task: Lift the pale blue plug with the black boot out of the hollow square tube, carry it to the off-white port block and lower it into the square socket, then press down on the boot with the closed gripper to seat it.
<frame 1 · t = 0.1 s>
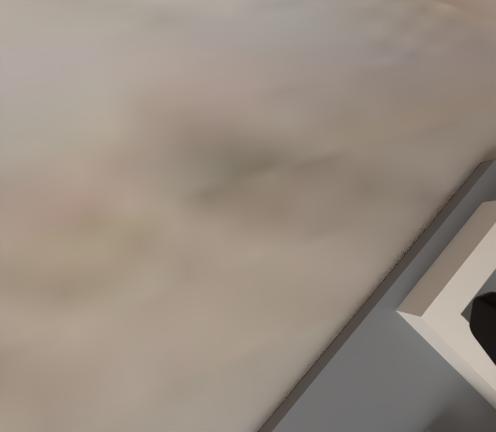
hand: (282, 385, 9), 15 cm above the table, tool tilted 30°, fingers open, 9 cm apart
panel board: (451, 385, 26), on the table
port block: (488, 304, 25), resting on panel board
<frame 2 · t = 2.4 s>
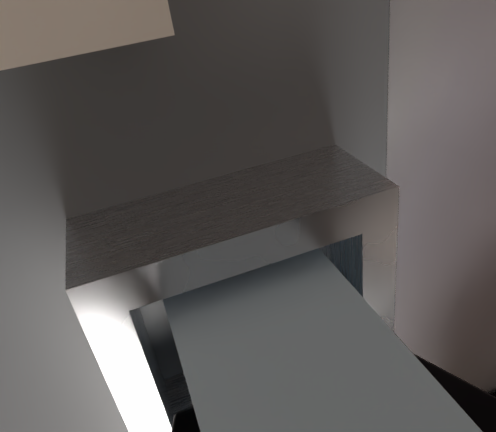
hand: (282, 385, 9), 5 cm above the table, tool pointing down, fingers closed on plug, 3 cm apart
panel board: (46, 58, 9), on the table
hollow square tube: (247, 318, 11), on the panel board, point 2 cm above the table
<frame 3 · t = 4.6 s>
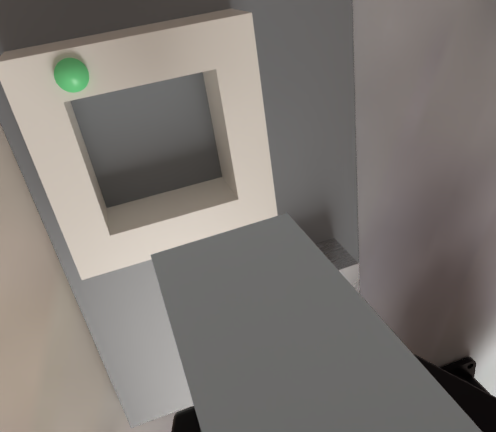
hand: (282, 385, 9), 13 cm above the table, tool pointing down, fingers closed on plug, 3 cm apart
panel board: (212, 208, 22), on the table
port block: (151, 136, 18), resting on panel board
hollow square tube: (293, 317, 23), on the panel board, point 2 cm above the table
when the fingers open (5 cm above the table, at t = 6.8 s): plug stays where it is, resting on panel board.
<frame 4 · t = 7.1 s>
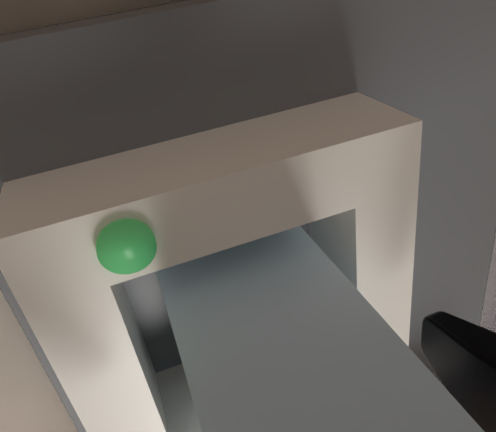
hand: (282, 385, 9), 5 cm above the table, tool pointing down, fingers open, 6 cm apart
panel board: (291, 339, 16), on the table
port block: (225, 275, 12), resting on panel board
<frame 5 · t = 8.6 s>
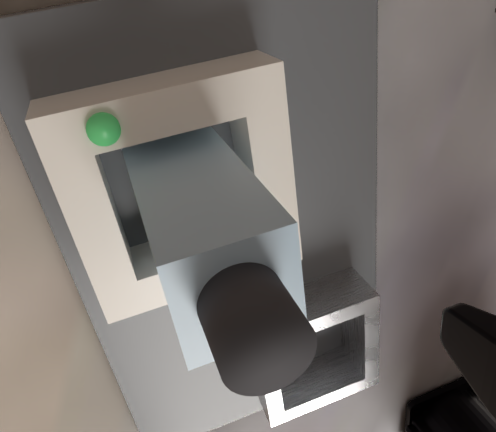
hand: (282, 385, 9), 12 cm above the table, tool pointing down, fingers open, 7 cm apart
panel board: (232, 240, 22), on the table
plug: (209, 239, 14), in the port block, point 6 cm above the table, touching panel board
port block: (175, 176, 18), resting on panel board
hollow square tube: (311, 346, 23), on the panel board, point 2 cm above the table
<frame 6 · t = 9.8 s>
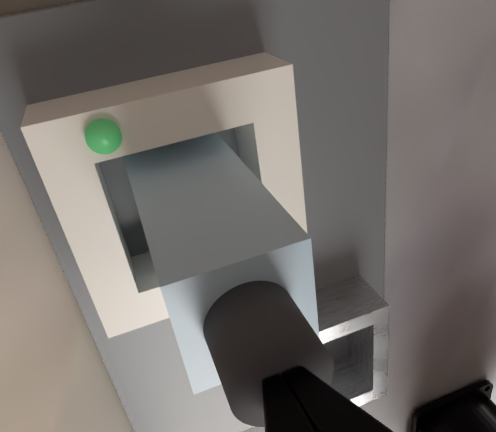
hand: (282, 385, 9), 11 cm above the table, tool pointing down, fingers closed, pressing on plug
panel board: (237, 248, 21), on the table
plug: (214, 252, 13), in the port block, point 6 cm above the table, touching gripper, panel board
port block: (178, 183, 17), resting on panel board
hollow square tube: (318, 357, 23), on the panel board, point 2 cm above the table
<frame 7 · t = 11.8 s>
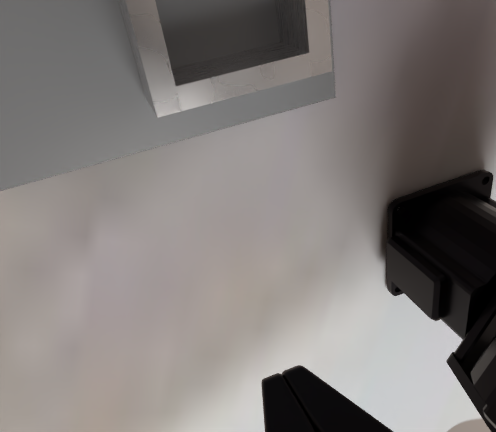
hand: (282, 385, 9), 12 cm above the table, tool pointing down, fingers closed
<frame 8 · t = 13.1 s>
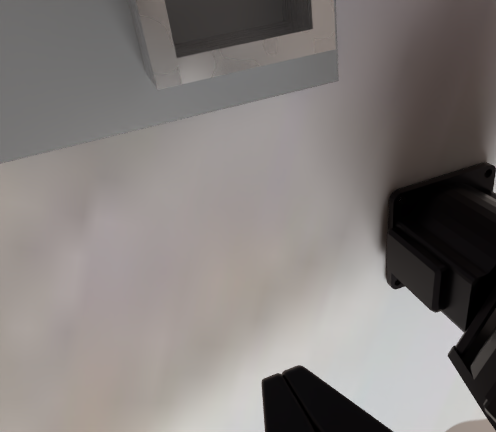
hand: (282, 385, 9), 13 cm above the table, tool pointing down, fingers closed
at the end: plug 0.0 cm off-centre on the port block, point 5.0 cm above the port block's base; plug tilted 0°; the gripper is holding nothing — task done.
